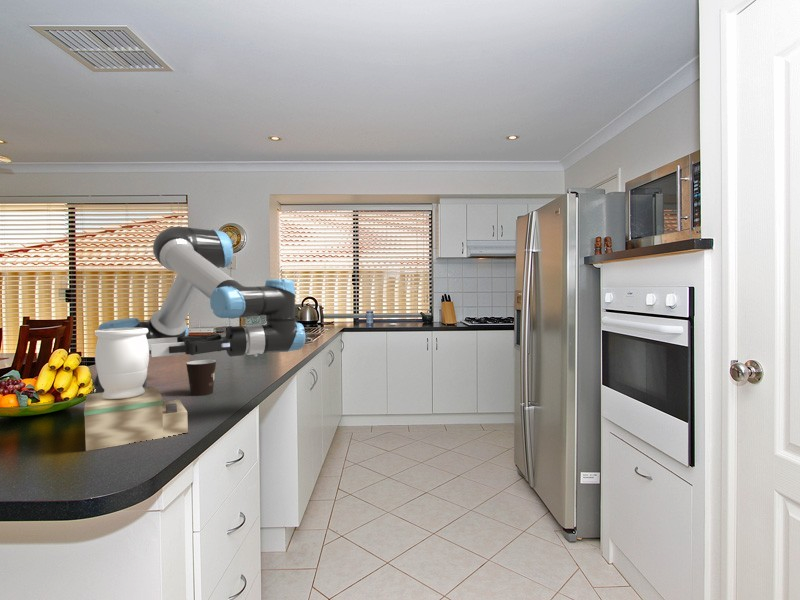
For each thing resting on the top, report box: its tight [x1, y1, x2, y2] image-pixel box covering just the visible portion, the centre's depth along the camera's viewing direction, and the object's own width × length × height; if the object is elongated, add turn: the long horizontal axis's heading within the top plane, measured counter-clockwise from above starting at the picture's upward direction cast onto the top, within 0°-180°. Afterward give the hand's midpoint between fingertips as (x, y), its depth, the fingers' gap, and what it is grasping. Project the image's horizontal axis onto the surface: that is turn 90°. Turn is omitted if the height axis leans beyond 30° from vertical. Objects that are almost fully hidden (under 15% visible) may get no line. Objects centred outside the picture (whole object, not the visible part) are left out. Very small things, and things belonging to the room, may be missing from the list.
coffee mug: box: [185, 359, 217, 397], centre depth 143 cm, size 12×9×10 cm
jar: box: [94, 328, 150, 399], centre depth 101 cm, size 11×10×15 cm
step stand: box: [83, 386, 189, 452], centre depth 102 cm, size 19×14×9 cm
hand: (149, 347), depth 103 cm, fingers open, 13 cm apart
